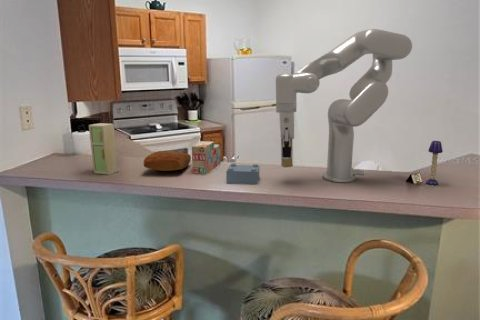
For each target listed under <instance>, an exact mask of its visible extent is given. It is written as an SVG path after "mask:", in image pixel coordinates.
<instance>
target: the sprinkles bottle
mask: <svg viewBox="0 0 480 320" xmlns="http://www.w3.org/2000/svg"><path fill="white" fill-rule="evenodd" d="M279 133H280V132H279ZM279 137H280V158H281V159H280V160H281V162H280V163H281V164H280V167H282V168H292V167H293V166H294V165H293V164H294V163H293V139H292V138H291V137H290V147H291V157H286V158H283V157H282V147H283V139H281V133H280V136H279ZM284 139H285V137H284ZM288 139H289V137H288ZM284 141H285V140H284ZM288 141H289V140H288Z"/></svg>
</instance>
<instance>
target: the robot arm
mask: <svg viewBox="0 0 480 320" xmlns="http://www.w3.org/2000/svg"><path fill="white" fill-rule="evenodd" d="M412 50H413V42H412V40H411V39H410V37H408V36H407V35H406V34H402V33H396V32H394V31H388V30H383V29H377V28H369V29H366V30H361V31H358V32H356V33H354V34H353V35H352V36H350V37H348V38H347V39H346V40H344V41H343V42H341V43H340V44H338V45H337V46H336V47H334V48H333V49H331V50H330V51H328V52H326V53H325V54H323V55H321V56H320V57H318V58H317V59H315V60H313V61H312V62H309V63H308V64H306V65H305V66H304V67H302V68H300V70H298V71H296V72H295V73H282V74H281V73H280V74H277V75H276V77H275V107H276V108H275V110H276V111H275V113H277V114H279V131H280V132H279V133H281V137H280V140H281V139H283V147H282V157H283V158H286V157H291V147H290V137H291V138H292V140H294V139H295V113H297V94H298V93H299V94H313V93H315V92H316V91H317V90H318V89H319V87H320V80H321V79H324V78H326V77H328V76H332V75H335V74H338V73H340V72H342V71H344V70H345V69H346V68H348V67H350V66H351V65H352V64H354V63H355V62H357V60H359V59H360V58H362V57H363V56H365V55H372V63H371V66H370V67H369V68H368V70H367V71H366V72H365V73H364V74H363V75H362V76H360V78H359V79H358V80H357V81H356V82H355V83H354V84H353V85H352V86H351V87H350V90H349V93H348V95H349V98H350V99H345V98H340V99H336V100H334V101H333V102H331V104H330V105H329V107H328V110H327V121H328V143H327V144H328V145H327V146H328V147H327V160H326V161H327V163H326V172H324V173H322V178H323V179H324V180H326V181H329V182H334V183H350V182H354V181H355V179H356V176H364V174H365V171H364V170H360V169H354V168H353V166H352V165H353V155H354V154H353V153H354V152H353V151H354V137H355V133H354V128H355V127H360V126H361V125H363V124H364V123H366V122H367V121H368V120H369V119H370V118H371V117H372V116H373V115H374V114H375V113H376V112H377V111H378V110H379V109H380V108H381V107H382V105H384V103H385V102H386V101H387V99H388V95H389V88H388V87H389V86H388V85H387V82H388V81H390V79H391V77H392V74H393V61H398V60H402V59H405V58H407V57H408V56H409V55H410V53H412ZM284 137H285V139H284ZM288 137H289V139H288ZM284 140H285V141H284ZM288 140H289V141H288Z"/></svg>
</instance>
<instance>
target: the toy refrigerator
mask: <svg viewBox="0 0 480 320" xmlns="http://www.w3.org/2000/svg"><path fill="white" fill-rule="evenodd" d="M88 131H89V132H88V133H89V139H90V140H89V141H90V149H91V157H92V159H91V160H92V166H93V173H94V174H99V175H107V174H108V175H111V174H113V173H116V172H119V163H118V153H117V151H118V150H117V143H116V133H115V132H116V131H115V124H114V123H107V122H106V123H101V122H99V123H93V124H88Z"/></svg>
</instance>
